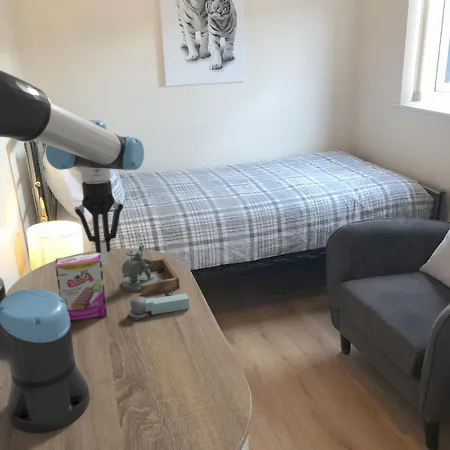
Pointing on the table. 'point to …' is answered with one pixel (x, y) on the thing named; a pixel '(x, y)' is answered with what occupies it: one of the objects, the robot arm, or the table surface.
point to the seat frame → (163, 284)
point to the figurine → (137, 271)
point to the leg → (159, 304)
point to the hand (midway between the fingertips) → (104, 262)
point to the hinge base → (146, 314)
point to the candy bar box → (82, 286)
